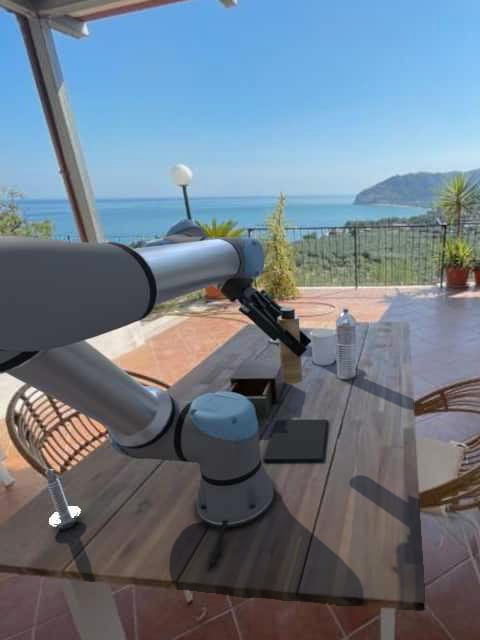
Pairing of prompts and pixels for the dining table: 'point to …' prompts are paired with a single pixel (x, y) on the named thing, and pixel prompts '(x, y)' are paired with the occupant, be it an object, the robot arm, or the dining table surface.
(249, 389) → the drawer
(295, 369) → the pepper mill
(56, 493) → the screw
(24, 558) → the dining table surface
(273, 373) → the cabinet
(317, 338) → the candle holder
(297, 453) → the placemat
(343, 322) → the water bottle
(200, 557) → the dining table surface
